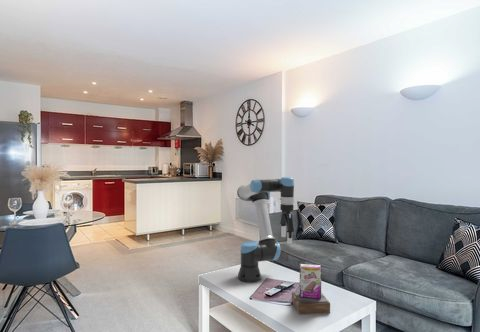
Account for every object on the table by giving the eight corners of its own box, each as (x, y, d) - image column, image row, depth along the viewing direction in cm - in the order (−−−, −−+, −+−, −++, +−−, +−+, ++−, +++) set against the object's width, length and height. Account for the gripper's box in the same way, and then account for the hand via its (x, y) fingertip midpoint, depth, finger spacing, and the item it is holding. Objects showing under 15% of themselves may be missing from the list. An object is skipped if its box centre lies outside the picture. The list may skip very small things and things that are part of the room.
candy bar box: (299, 297, 156) (299, 266, 156) (299, 293, 161) (299, 263, 161) (321, 299, 154) (321, 268, 154) (320, 295, 159) (320, 264, 159)
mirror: (291, 301, 164) (291, 291, 164) (320, 300, 166) (320, 290, 166) (299, 314, 150) (299, 303, 150) (330, 312, 152) (330, 302, 152)
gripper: (275, 200, 185) (275, 234, 186) (286, 207, 160) (285, 246, 161) (287, 200, 186) (287, 234, 187) (299, 207, 161) (299, 246, 162)
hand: (286, 240), depth 174 cm, fingers open, 13 cm apart
